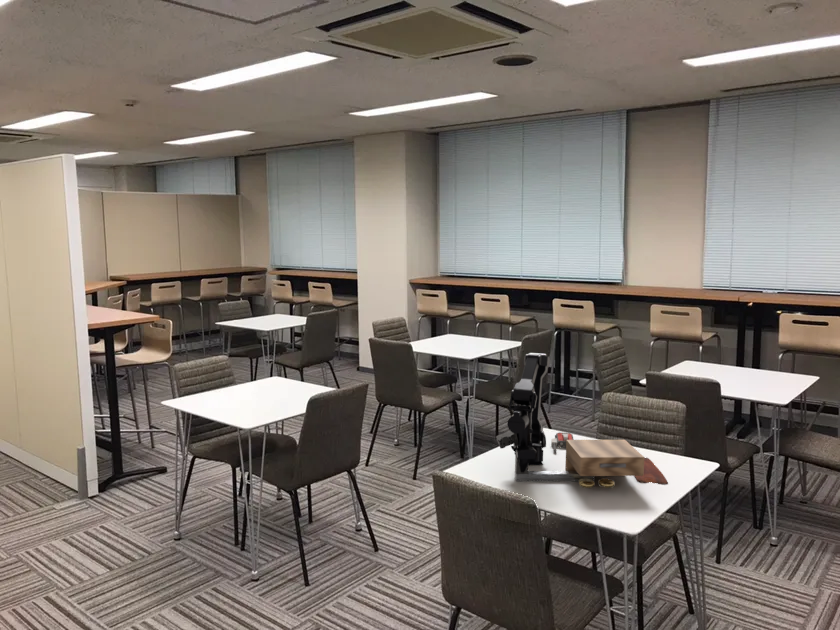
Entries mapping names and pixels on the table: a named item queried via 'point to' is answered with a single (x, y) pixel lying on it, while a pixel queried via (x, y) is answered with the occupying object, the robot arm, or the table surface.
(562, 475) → the gray l-shaped bracket
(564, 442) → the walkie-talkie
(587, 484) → the brass disc
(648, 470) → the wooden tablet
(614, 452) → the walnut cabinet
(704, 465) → the table surface
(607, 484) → the brass disc
